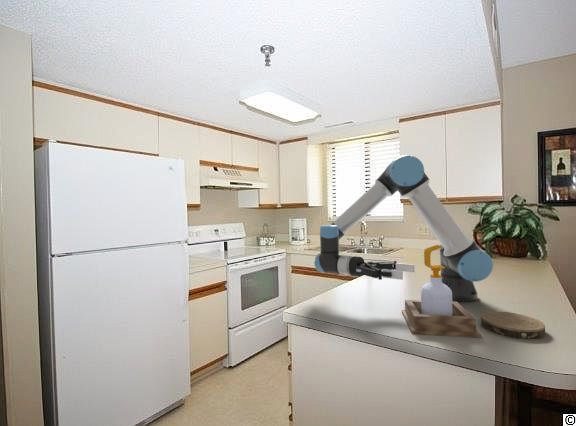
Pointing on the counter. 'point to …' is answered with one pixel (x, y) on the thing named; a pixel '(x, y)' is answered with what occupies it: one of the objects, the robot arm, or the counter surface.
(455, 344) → the counter surface
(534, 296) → the counter surface
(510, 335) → the wood slice
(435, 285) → the soap bottle
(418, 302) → the walnut caddy
